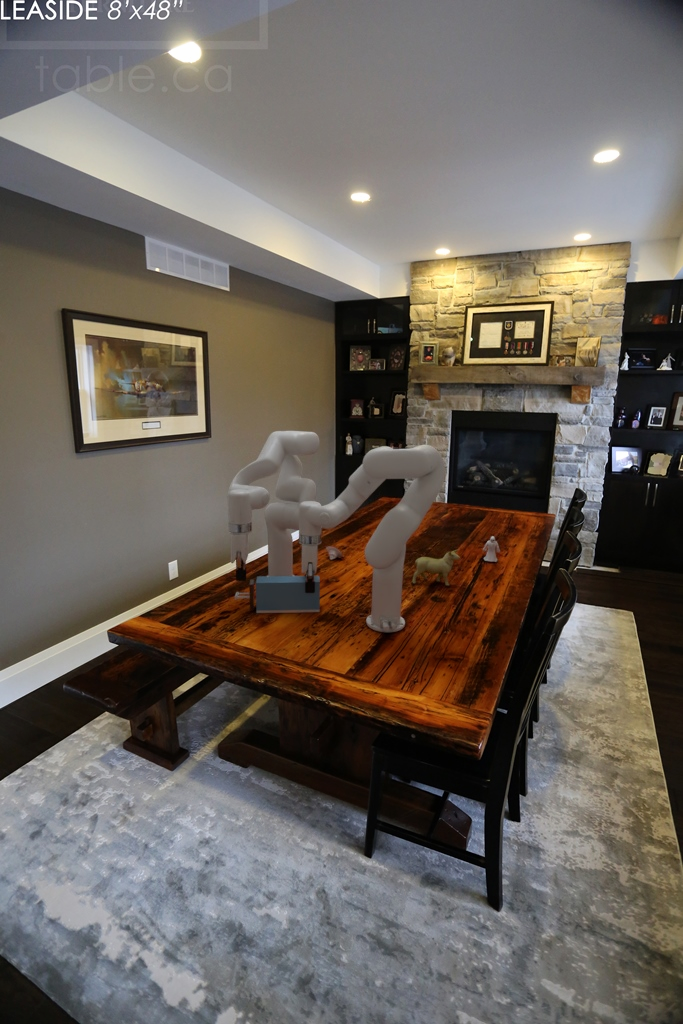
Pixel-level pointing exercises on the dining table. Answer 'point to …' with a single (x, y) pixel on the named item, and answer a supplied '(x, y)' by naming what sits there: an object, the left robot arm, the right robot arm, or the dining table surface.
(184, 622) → the dining table surface
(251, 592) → the drawer
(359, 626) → the dining table surface
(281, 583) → the blue slab
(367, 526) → the dining table surface
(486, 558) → the figurine
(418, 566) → the toy
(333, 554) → the white lid
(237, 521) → the left robot arm
